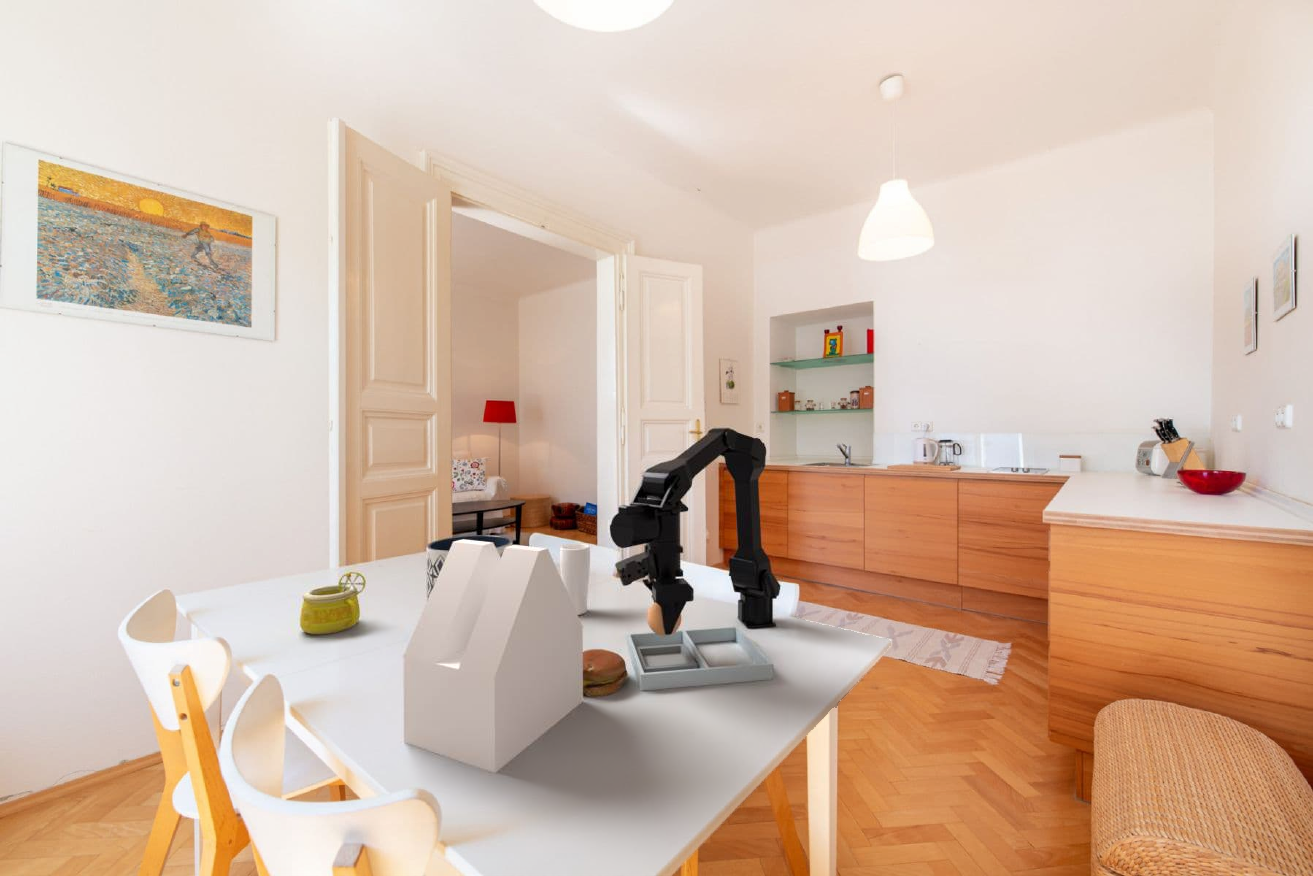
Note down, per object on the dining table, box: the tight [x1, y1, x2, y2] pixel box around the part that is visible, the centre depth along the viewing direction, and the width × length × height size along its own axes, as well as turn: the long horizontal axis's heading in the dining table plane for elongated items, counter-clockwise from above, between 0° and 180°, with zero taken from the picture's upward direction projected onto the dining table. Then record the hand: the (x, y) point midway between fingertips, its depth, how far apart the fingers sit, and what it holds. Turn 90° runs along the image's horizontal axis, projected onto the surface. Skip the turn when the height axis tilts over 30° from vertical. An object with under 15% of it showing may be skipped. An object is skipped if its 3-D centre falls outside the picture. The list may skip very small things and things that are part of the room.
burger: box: [583, 648, 628, 698], centre depth 88 cm, size 10×9×5 cm
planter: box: [426, 534, 514, 602], centre depth 121 cm, size 18×18×16 cm
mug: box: [299, 571, 367, 635], centre depth 113 cm, size 13×11×12 cm
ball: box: [646, 602, 682, 636], centre depth 95 cm, size 6×6×6 cm
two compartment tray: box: [626, 625, 774, 692], centre depth 96 cm, size 22×18×2 cm
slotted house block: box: [402, 539, 584, 774], centre depth 77 cm, size 19×15×25 cm
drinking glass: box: [559, 543, 591, 616], centre depth 123 cm, size 7×7×15 cm
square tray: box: [635, 643, 698, 673], centre depth 95 cm, size 10×10×2 cm
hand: (664, 627), depth 95 cm, fingers closed on ball, 6 cm apart
